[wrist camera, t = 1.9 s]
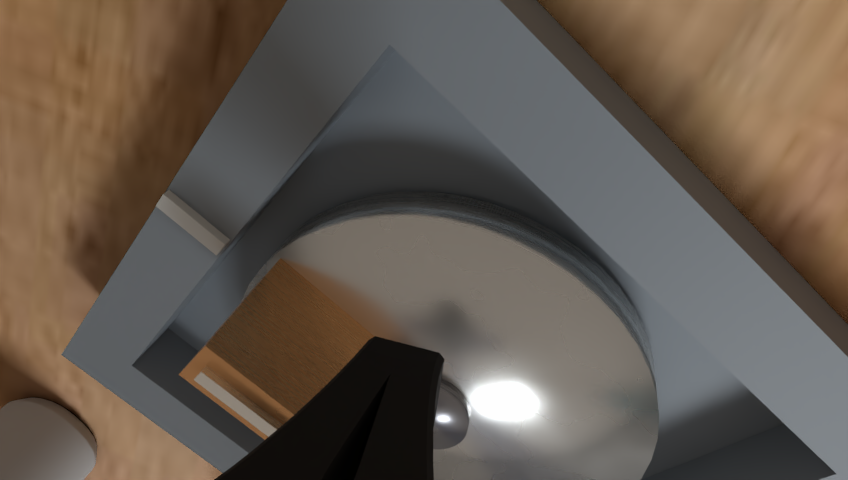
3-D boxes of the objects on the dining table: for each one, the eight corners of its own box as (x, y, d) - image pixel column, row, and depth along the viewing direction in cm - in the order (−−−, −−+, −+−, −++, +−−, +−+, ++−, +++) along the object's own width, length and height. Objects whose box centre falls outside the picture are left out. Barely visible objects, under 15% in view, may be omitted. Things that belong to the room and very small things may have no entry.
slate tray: (933, 414, 15) (991, 508, 12) (463, 579, 25) (449, 648, 22) (411, -130, 12) (364, -132, 9) (111, 310, 21) (54, 360, 19)
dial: (754, 412, 15) (809, 610, 11) (454, 537, 22) (419, 690, 18) (417, 92, 13) (331, 190, 9) (198, 338, 20) (89, 460, 15)
